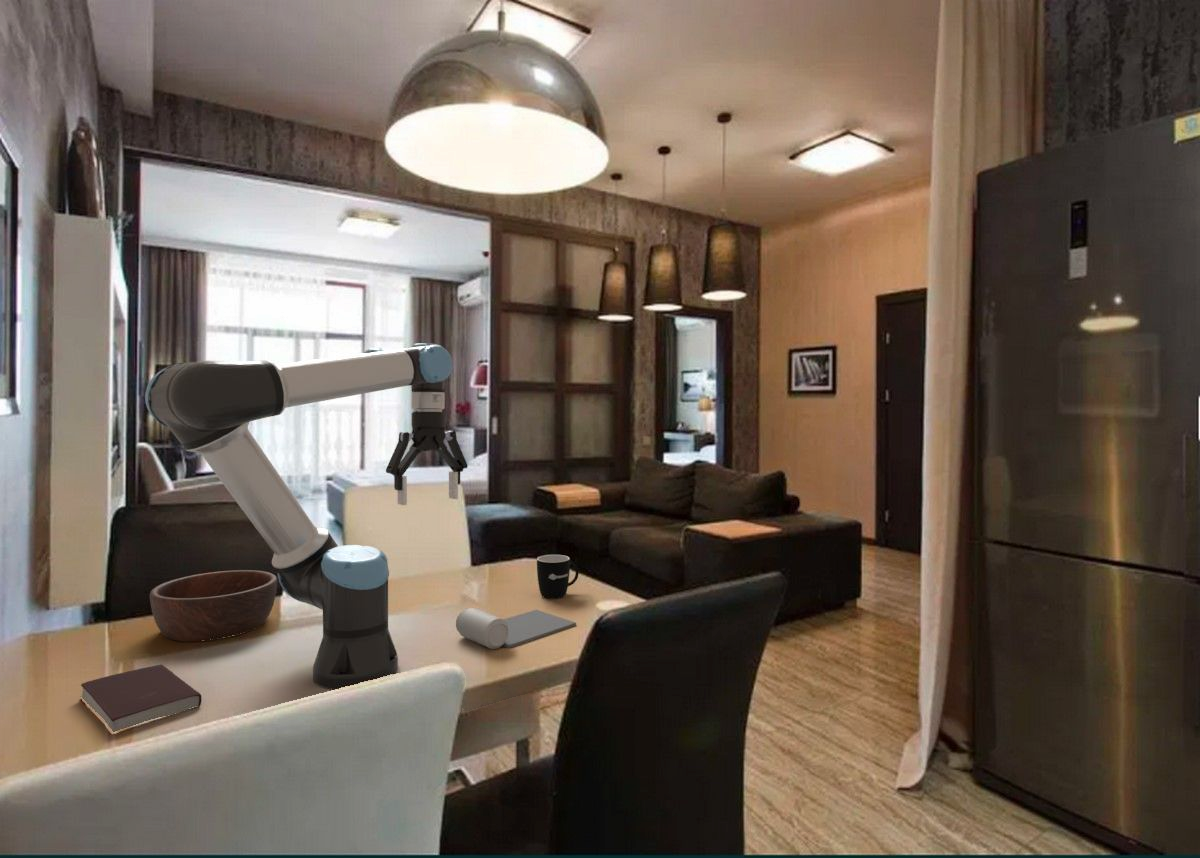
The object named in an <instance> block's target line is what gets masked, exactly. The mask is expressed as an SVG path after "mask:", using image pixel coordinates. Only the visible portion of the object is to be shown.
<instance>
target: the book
mask: <svg viewBox="0 0 1200 858" xmlns="http://www.w3.org/2000/svg"><path fill="white" fill-rule="evenodd" d="M80 686H81V687H82V694H81V696H82V698H83V699H84V700H85V701H86V702H87V704H89V705H90V707H92V709H94V710H95V712H97V713H98V714H99V715H100V716H101V717H102V718H103V719H104V720H105V722H106V723H107V724H108V726H109V727H110V728H111V729H112V731H113V732H115V731H118V730H120V729H124V728H127V727H130V726H133V725H136V724H139V723H142V722H144V721H148V720H151V719H155V718H158V717H163V716H168V715H172V714H175V713H178V714H180V713H179V712H181V713H183V712H182V711H184V710H187V709H189V708H192V707H195V706H199V707H200V706H202V705H201V704H202V694H201V693H200V692H199V691H197V690H196V689H194V687H192V686H191V685H189V684H188V683H187V682H185V681H184V680H183V679H181V677H179V676H177V675H176V674H175V673H174V672H173V671H172V670H170V669H169V668H167V667H166V666H165V665H164V664H162V663H161V664H157V665H152V666H147V667H142V668H137V669H133V670H129V671H124V672H119V673H116V674H112V675H107V676H104V677H99V678H96V679H91V680H88V681H85V682H83V683H81V684H80ZM187 711H188V710H187ZM184 712H185V711H184ZM175 715H176V714H175ZM172 716H173V715H172Z"/></svg>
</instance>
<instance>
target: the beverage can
mask: <svg viewBox="0 0 1200 858" xmlns="http://www.w3.org/2000/svg"><path fill="white" fill-rule="evenodd" d="M504 619H505V618H501V617H499V616H496V615H493V614H491V613H488V612H486V611H483V610H480V609H477V608H474V607H471V608H470V607H469V608H465V609H463V610H462V611H461V612H460V613H459V614H458V616H457V617H456V621H455V627H456V631H457V632H458V633H459V634H460V636H461V637H463V638H465V639H468V640H470V641H473V642H475V643H476V644H479V645H482V646H483V647H486V648H488V649H491V650H497V649H499V648H501V647H503V646H502V645H503V644H504V643H505V641H506V640H507V637H508V634H509V627H508V624H507V622H506V621H505V620H504Z"/></svg>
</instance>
